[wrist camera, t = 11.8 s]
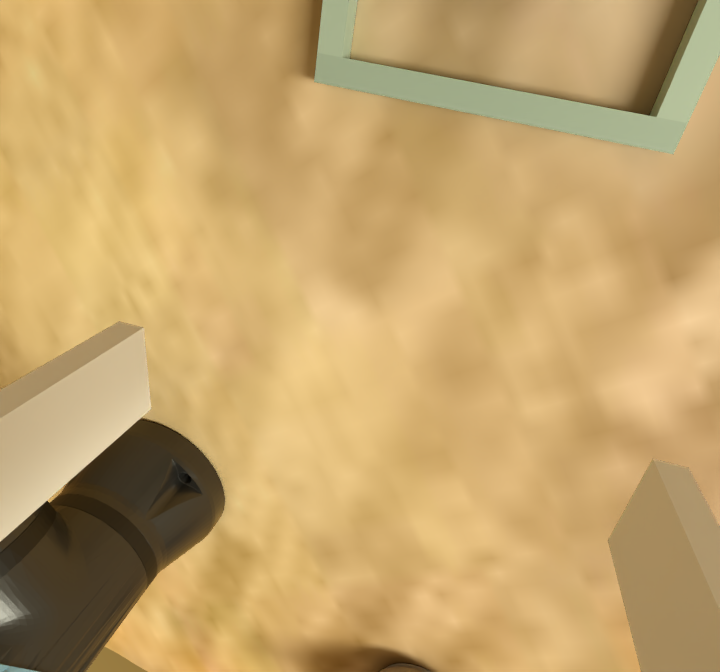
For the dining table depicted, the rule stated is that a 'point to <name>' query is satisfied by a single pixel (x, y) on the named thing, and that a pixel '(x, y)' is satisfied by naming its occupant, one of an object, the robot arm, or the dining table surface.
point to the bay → (655, 132)
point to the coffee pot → (403, 668)
